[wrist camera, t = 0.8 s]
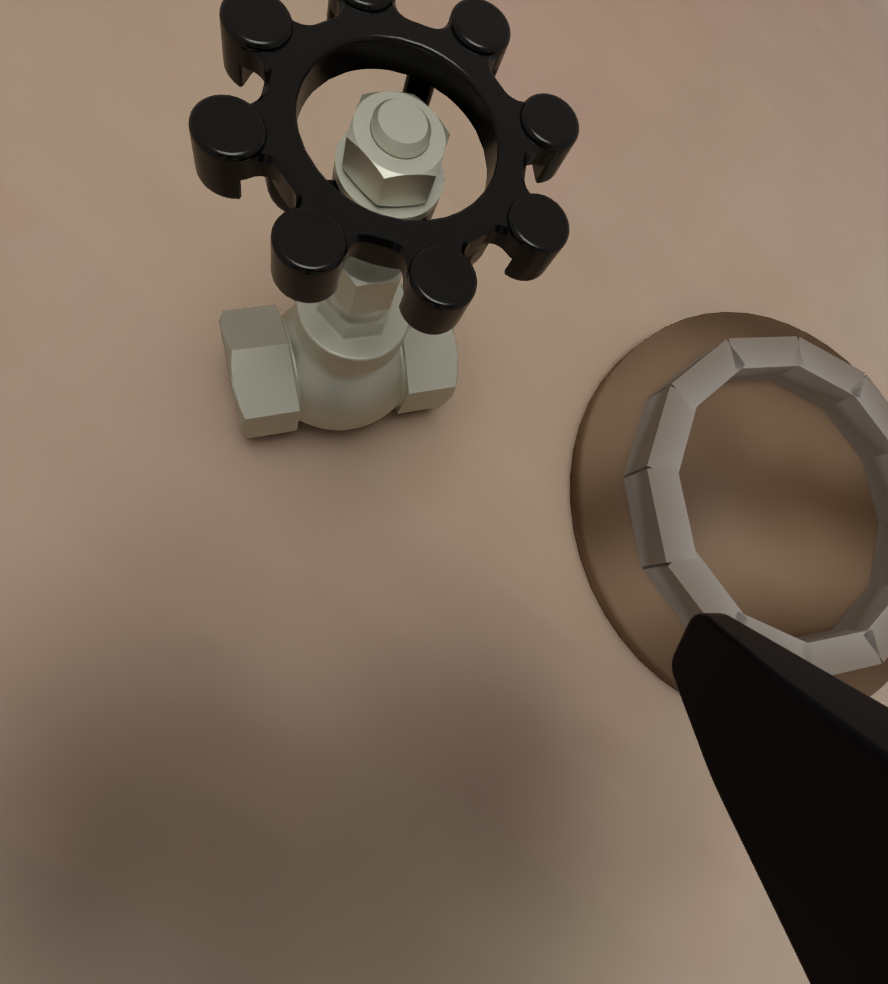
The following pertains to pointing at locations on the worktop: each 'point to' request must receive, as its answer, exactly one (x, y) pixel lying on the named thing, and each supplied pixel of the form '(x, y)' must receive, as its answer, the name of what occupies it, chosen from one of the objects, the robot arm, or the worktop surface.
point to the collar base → (738, 494)
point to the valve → (371, 206)
